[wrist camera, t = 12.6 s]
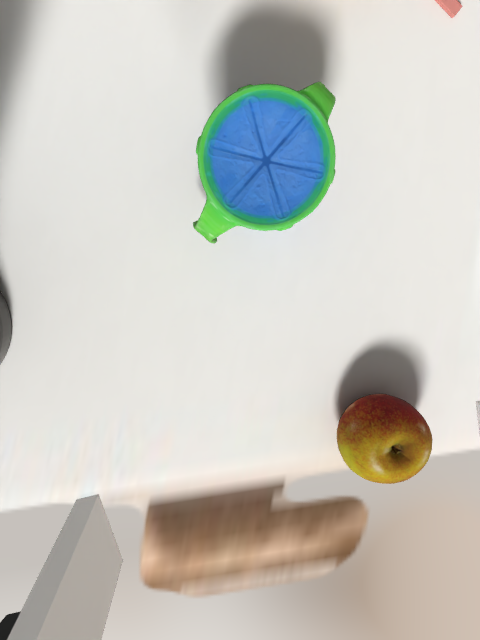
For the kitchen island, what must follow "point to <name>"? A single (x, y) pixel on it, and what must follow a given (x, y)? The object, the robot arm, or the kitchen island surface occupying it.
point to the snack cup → (265, 158)
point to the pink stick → (450, 6)
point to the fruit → (384, 439)
